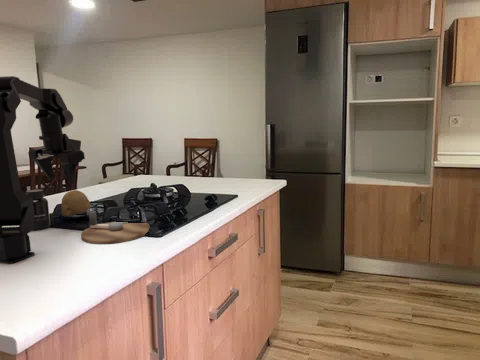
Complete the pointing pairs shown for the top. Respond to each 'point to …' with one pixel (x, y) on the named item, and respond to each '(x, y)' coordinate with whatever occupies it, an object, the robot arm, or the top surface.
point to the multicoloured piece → (111, 225)
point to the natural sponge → (74, 203)
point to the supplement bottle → (40, 210)
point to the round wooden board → (115, 233)
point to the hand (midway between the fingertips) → (61, 180)
